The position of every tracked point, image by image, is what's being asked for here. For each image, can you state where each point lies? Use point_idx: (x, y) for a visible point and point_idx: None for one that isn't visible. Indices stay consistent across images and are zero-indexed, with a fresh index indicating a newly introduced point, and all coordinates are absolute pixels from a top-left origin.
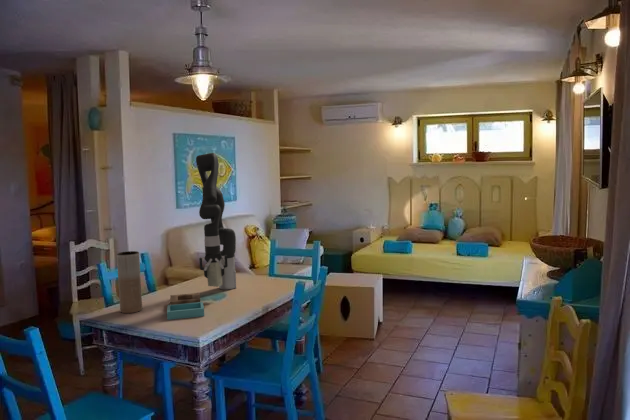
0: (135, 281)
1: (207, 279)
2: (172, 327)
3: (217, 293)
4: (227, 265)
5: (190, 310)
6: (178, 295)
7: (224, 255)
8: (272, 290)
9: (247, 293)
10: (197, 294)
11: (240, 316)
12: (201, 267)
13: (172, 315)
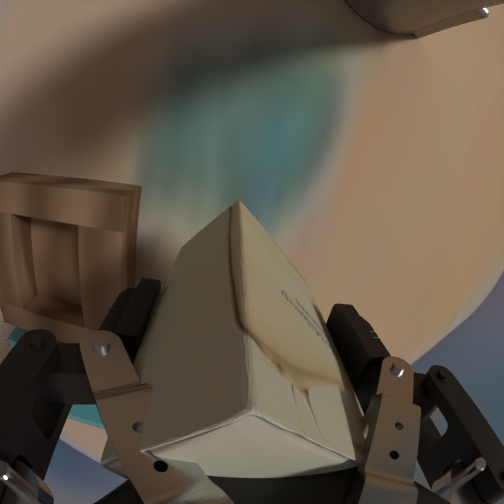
0: None
1: (167, 278)
2: (75, 435)
3: (297, 62)
4: (422, 421)
5: (99, 425)
6: (13, 204)
7: (499, 494)
8: (499, 205)
9: (430, 183)
10: (109, 239)
11: None
12: (53, 412)
13: None
